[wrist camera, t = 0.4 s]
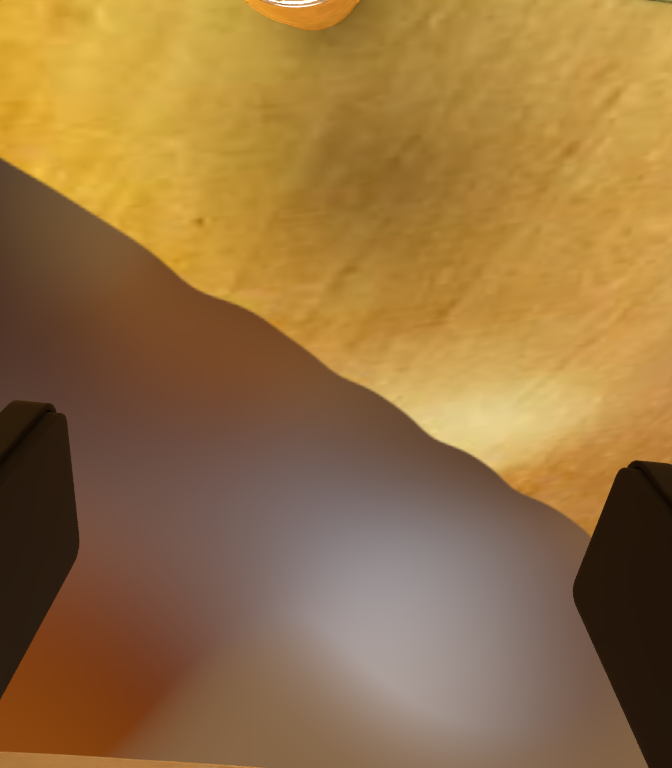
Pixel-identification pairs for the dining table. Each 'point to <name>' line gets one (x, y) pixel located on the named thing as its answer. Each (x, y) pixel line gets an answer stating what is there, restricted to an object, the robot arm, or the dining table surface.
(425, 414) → the dining table surface
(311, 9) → the beer glass
